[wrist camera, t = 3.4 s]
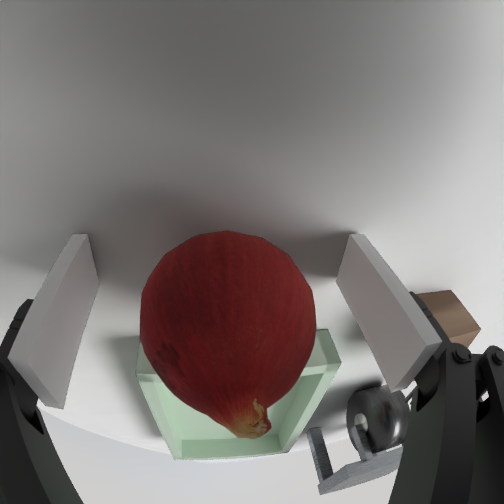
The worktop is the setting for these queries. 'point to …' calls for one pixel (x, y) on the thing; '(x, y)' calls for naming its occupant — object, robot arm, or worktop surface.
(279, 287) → the onion
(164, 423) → the tray
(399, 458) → the caster wheel
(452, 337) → the block
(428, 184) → the worktop surface
